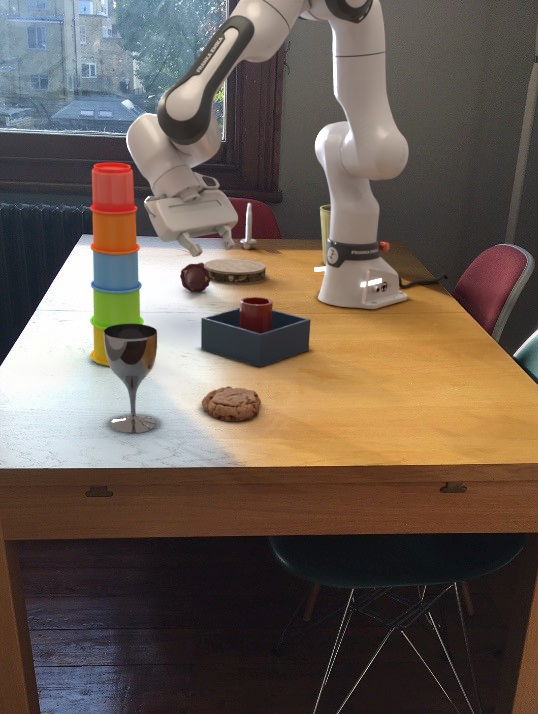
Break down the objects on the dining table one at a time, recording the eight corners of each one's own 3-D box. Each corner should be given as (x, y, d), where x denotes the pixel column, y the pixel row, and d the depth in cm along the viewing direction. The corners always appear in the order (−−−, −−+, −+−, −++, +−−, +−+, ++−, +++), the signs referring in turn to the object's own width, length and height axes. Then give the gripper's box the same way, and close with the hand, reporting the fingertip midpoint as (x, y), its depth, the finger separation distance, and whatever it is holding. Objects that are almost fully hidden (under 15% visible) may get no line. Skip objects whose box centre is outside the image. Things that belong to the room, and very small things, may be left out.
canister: (258, 339, 177) (260, 295, 173) (276, 348, 173) (278, 302, 169) (233, 344, 174) (234, 299, 170) (251, 352, 170) (252, 306, 165)
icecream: (209, 272, 203) (217, 264, 217) (179, 262, 203) (189, 255, 216) (201, 301, 206) (210, 291, 219) (171, 291, 205) (182, 282, 219)
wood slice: (276, 276, 230) (277, 264, 228) (243, 287, 218) (244, 275, 216) (226, 267, 237) (226, 255, 236) (191, 277, 225) (191, 265, 224)
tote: (251, 333, 183) (252, 304, 180) (308, 350, 175) (310, 319, 172) (201, 349, 173) (201, 317, 170) (259, 367, 164) (261, 334, 161)
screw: (254, 250, 257) (238, 249, 258) (257, 247, 262) (241, 246, 262) (256, 204, 251) (239, 203, 252) (259, 201, 255) (242, 200, 256)
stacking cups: (154, 354, 169) (150, 162, 153) (130, 370, 160) (124, 169, 144) (106, 347, 172) (97, 158, 155) (80, 362, 163) (68, 164, 147)
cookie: (216, 425, 139) (217, 407, 137) (193, 402, 147) (193, 385, 146) (273, 418, 143) (274, 400, 141) (248, 395, 151) (248, 379, 150)
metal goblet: (109, 414, 141) (105, 323, 134) (159, 414, 142) (157, 323, 135) (106, 434, 134) (101, 338, 127) (158, 434, 135) (156, 339, 128)
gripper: (148, 186, 163) (186, 248, 163) (222, 178, 177) (257, 235, 177) (132, 208, 168) (169, 268, 167) (205, 198, 182) (239, 254, 181)
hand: (215, 251), depth 172 cm, fingers open, 8 cm apart
